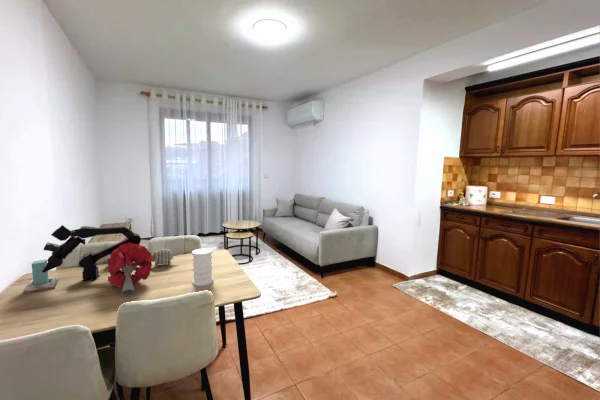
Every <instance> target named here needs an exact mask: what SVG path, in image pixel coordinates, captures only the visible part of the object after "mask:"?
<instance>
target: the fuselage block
mask: <svg viewBox="0 0 600 400" xmlns="http://www.w3.org/2000/svg"><path fill="white" fill-rule="evenodd" d="M47 260H48V259H42V260H41V259H40V260H34V261H33V262H32V263H31V270H32V280H33V283H34V286H36V285H42V284H48V283H49V279H48V278H49V271H46V272H44V273H43V272H42V271H43V269H44V268H45V267H46V265H47V263H48V261H47Z"/></svg>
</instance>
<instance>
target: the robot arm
mask: <svg viewBox="0 0 600 400" xmlns="http://www.w3.org/2000/svg"><path fill="white" fill-rule="evenodd" d="M116 234H117V235H120V234H122V235H123V236H124V237H125V238H124V239H122V240H121V241H119V242H116V243H114V244H112V245H110V246H108V247H104V249H101V250H99V251H96V252H93V251H92V250H90V251H89V252H87V253H84V254H83V255H82V256H81V257H80V259H79V261H78V265H79V267H80V268H81V269H82V272H81V274H82V282H87V281H95V280H97V279H98V278H99V277H100V276H101V274H99V267H98V266H97V265H98V261H99V260H101V259H103V258H105V257H107V255H110V254H111V253H112V251H114V250H115V249H117V248H118V247H119V246H120V245H122V244H126V243H133V244H138V245H140V243H141V241H142V237H141V235H140V234H138V233H136V232H133V230H131V229H129V228H128V227H127V226H125V225H122V226H121V225H120V226H108V227H107V226H106V227H95V226H86V225H84V226H80V228H76V229H72V230H71V229H69V228H67V227H66V226H64V225H63V224H61V225H60V226H59V227H58V228H57V229H55V230H54V231H53V232H52V233H51V234H50V236H52V237H53V238H55V239H57V240H59V241H60V242H62V241H63V242H64V241H65V242H64V243H61V244H58V243H53V242H50V241H48V242H46V244H45V245H44V247H43V251H48V252H51V255H50V256H49V257H48V258H47V259H46V260H47V265H46V267H45V268H44V269H43V271H42V272H43V273H44V272H46V271H48V272H49V271H51V270H53V269H55V268H58V267H60V266H61V265H62V264H64V260H65V259H66V258H67V257H68V256H69V255H70V254H71V253H73V252H74V250H75V249H76V248H77V247H78V246H79V245H80V244H82V245H84V246H85V245H86V239H87V238H92V237H95V236H103V235H116Z"/></svg>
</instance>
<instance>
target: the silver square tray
mask: <svg viewBox="0 0 600 400" xmlns="http://www.w3.org/2000/svg"><path fill="white" fill-rule="evenodd" d="M48 279H49V283H48V284H42V285H36V286H34V283H33V279H32V280H29V282H28V283H27V284H26V286H25V288H24V290H23V292H22V294H23V295H24V294H31V293H35V292H36V293H37V292H43V291H48V290H53V289H54V290H55V289H56V287H57V285H58V283H59V279H58V278H57V277H56V276H53V277H48ZM57 282H58V283H57Z"/></svg>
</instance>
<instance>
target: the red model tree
mask: <svg viewBox="0 0 600 400" xmlns="http://www.w3.org/2000/svg"><path fill="white" fill-rule="evenodd" d="M151 254H152V252H150V251H149V250H148V249H147V248H146V246H144V245H140V244H133V243H126V244H122V245H120V246H119V247H118V248H117V249H115V250H114V251H112V253H111V255H110V256H111V258H109V259H107V258H106V263H107V264H108V265H109V266H108V268H107V269H108V270H107V271H108V273H109V276H108V277H107V281H108V283H110V285H112V286H115V287H118V288H122V289H121V295H122V296H123V297H130V296H133V294H134V293H135V287H134V283H139V281H141V280H143V281H144V280H147V279H148V277H149V276H150V274H151V271H152V266H153V265H152V264H153V262H152V257H151ZM134 271H135V272H134Z"/></svg>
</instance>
